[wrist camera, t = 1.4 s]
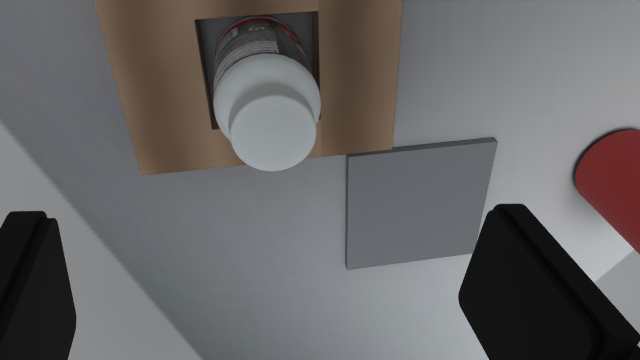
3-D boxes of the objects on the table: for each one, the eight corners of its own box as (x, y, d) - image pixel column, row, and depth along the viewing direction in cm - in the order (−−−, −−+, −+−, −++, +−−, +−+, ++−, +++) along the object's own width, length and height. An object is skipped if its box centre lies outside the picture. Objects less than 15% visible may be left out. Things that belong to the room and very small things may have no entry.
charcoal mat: (493, 137, 37) (497, 141, 37) (471, 248, 43) (473, 253, 43) (346, 152, 36) (348, 157, 35) (345, 264, 42) (346, 270, 42)
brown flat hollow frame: (393, -57, 28) (406, -48, 26) (382, 130, 35) (392, 149, 33) (96, -41, 26) (85, -30, 24) (146, 154, 33) (141, 175, 31)
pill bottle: (315, 78, 32) (346, 160, 24) (237, 110, 33) (243, 200, 25) (283, -3, 29) (307, 61, 21) (198, 33, 29) (190, 109, 22)
